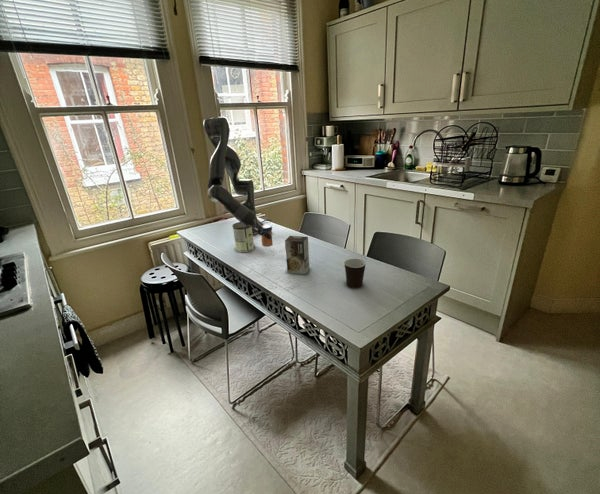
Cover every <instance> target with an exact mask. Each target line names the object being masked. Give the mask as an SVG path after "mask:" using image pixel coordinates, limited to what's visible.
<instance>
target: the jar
mask: <svg viewBox="0 0 600 494" xmlns="http://www.w3.org/2000/svg"><path fill="white" fill-rule="evenodd" d="M261 232H262V231H261ZM267 233H269V234H270V235H271V236H272V237H271V239H267V238H266V237H265V236H264V235H263V236H261V235H260V236H261V246H262V247H264V248H268V247H269V248H270V247H272V246H274V242H273V241H274V240H273V229H272V230H271V231H267Z"/></svg>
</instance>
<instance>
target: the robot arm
mask: <svg viewBox="0 0 600 494" xmlns="http://www.w3.org/2000/svg"><path fill="white" fill-rule="evenodd" d="M202 124H203V125H202V126H203V130H204V132H205V134H206V136H207V138H208V140H209V141H210V143H211V145H212V146H213V147H214V149H215V150H214V152H213V153H212V155H211V158H210V159H209V163H208V183H207V191H206V192H207V193H206V195H207V198H208V199H209V200H210V201H211V202H214V203H217V202H219V203H220V204H221V205H222V206H223V209H224V211H227V212H228V213H229V214H230V215H232V216H233V218H235V219H236V220H238V222H241V223H242V224H244V225H245V226H246V227H248V226H249V225H251V226H252V232H253V236H255V235H257V234H258V235H260V236H263V235H264V236H265V237H266V238H267V239H271V237H272V238H273V235H272V236H271V235H270V234H269V233H267V232H266V231H265V230H264V229H263V227H262V226H261V225H265V223H264V222H268V221H269V222H272V219H264V220H260V219H258V216H257V212H256V204H255V203H256V199H255V197H256V196H255V185H254V181H253V180H252V179H251V178H250V179H249V178H247V179H245V178H242V179H241V178H239V173H240V170H241V168H242V162H241V159H240V157H239V154H238V153H237V151H236V150H235V149H234V148H233V147H232V146H230V145H229V141H230V140H229V139H230V132H231V128H230V122H229V119H228V118H227V117H225V116H212V117H207V118H205V119H204V120H203V123H202ZM225 173H227V176H228V177H229V179H230V182H231V184H232V188H233V190H234V193H235V194H236V195H237V196H246V199H243V200H241V201H239V200H238V199H236V198H235V197H234V196H233V195H232V194H231V193H230V191H228V189H227V188H226V187H225V186H223V182H224V179H225ZM261 231H262V232H261Z"/></svg>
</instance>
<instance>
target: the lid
mask: <svg viewBox="0 0 600 494" xmlns="http://www.w3.org/2000/svg"><path fill="white" fill-rule="evenodd" d="M260 225H261V224H260ZM261 226H262V227H263V229H264V230H265V231H266V232H267V231H271V230H272V231H273V225H272V224H264V225H261Z"/></svg>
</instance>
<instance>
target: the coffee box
mask: <svg viewBox="0 0 600 494" xmlns="http://www.w3.org/2000/svg"><path fill="white" fill-rule="evenodd" d="M284 245H285V258H286V270H287V274H298V275H307V273H308V272H309V270H310V254H309V252H310V251H309V236H304V235H303V236H302V235H301V236H300V235H289V236H288V237H287V238H285V240H284Z"/></svg>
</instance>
